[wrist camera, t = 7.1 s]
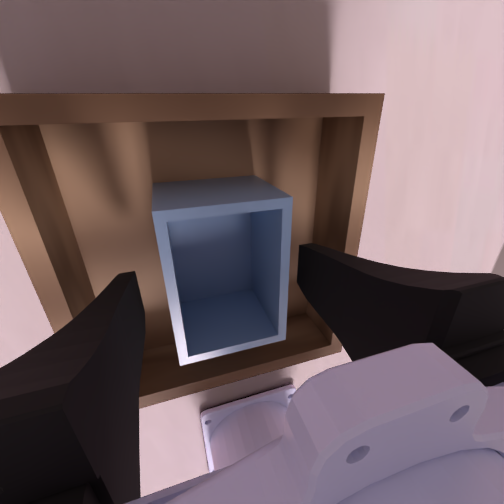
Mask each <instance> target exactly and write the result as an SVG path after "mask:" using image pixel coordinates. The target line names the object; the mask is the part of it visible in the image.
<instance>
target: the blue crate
mask: <svg viewBox="0 0 504 504" xmlns="http://www.w3.org/2000/svg"><path fill="white" fill-rule="evenodd" d="M292 206H293V197H292V196H290V195H289V194H287V193H285V192H283V191H282V190H280V189H278V188H276V187H275V186H273V185H271V184H270V183H268V182H266V181H264V180H263V179H261V178H259V177H257V176H256V175H251V176H238V177H225V178H212V179H199V180H186V181H174V182H161V183H153V185H152V216H153V222H154V227H155V233H156V238H157V243H158V249H159V254H160V260H161V265H162V271H163V276H164V282H165V287H166V292H167V298H168V303H169V309H170V314H171V320H172V325H173V330H174V336H175V341H176V347H177V352H178V358H179V363H180V366H182V365H186V364H190V363H194V362H198V361H202V360H206V359H210V358H214V357H218V356H222V355H226V354H230V353H234V352H238V351H242V350H246V349H250V348H254V347H258V346H262V345H266V344H270V343H274V342H278V341H282V340H286V323H287V304H288V284H289V265H290V245H291V225H292Z"/></svg>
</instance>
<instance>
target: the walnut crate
mask: <svg viewBox="0 0 504 504" xmlns="http://www.w3.org/2000/svg"><path fill="white" fill-rule="evenodd" d="M384 95H385V93H124V94H123V93H122V94H121V93H119V94H118V93H117V94H116V93H115V94H114V93H113V94H0V211H1V213H2V216H3V218H4V220H5V222H6V225H7V227H8V229H9V231H10V234H11V236H12V238H13V241H14V243H15V245H16V247H17V250H18V252H19V254H20V256H21V259H22V261H23V263H24V265H25V268H26V270H27V272H28V275H29V277H30V279H31V281H32V284H33V286H34V288H35V290H36V293H37V295H38V297H39V299H40V302H41V304H42V306H43V309H44V311H45V313H46V315H47V318H48V320H49V322H50V324H51V327H52V329H53V331H54V333H56V332H57V331H59V330H60V329H61V328H62V327H64V326H65V325H66V324H68V323H69V322H70V321H71V320H72V319H74V318H75V317H76V316H77V315H78V314H79V313H80V312H81V311H82V310H84V309H85V308H86V307H87V306H88V305H89V304H90V303H91V302H92V301H93V300H94V299H95V298H96V297H97V296H98V295H99V294H100V293H101V292H102V291H103V290H104V289H105V288H106V287H107V285H108V284H109V283H110V282H111V281H112V280H113V279H114V278H115V277H116V276H117V275H118V274H119V273H125V272H131V271H135V272H136V276H137V281H138V285H139V289H140V293H141V297H142V301H143V306H144V310H145V328H146V334H145V343H144V352H143V360H142V369H141V377H140V389H139V409H140V408H143V407H147V406H150V405H154V404H158V403H161V402H165V401H168V400H172V399H175V398H179V397H182V396H186V395H189V394H193V393H196V392H200V391H204V390H207V389H211V388H214V387H218V386H221V385H225V384H228V383H232V382H235V381H239V380H243V379H246V378H250V377H253V376H257V375H260V374H264V373H267V372H271V371H274V370H278V369H281V368H285V367H289V366H292V365H296V364H299V363H303V362H306V361H310V360H313V359H317V358H320V357H324V356H328V355H331V354H335V353H338V352H341V349H342V344H341V343H340V341H339V340H338V338H337V337H336V335H335V334H334V333H333V331H332V330H331V329H330V328H329V327H328V325H327V324H326V323H325V322H324V320H323V319H322V318H321V317H320V315H319V314H318V313H317V312H316V311H315V309H314V308H313V307H312V306H311V304H310V303H309V302H308V300H307V299H306V298H305V296H304V294H303V293H302V291H301V289H300V287H299V286H298V284H297V268H298V252H299V245H302V244H308V243H313V244H318V245H322V246H325V247H328V248H331V249H334V250H338V251H341V252H344V253H347V254H350V255H353V256H356V257H357V254H358V248H359V242H360V237H361V231H362V225H363V219H364V213H365V207H366V201H367V195H368V189H369V183H370V177H371V172H372V166H373V160H374V154H375V148H376V142H377V136H378V130H379V124H380V118H381V112H382V106H383V101H384ZM251 175H256V176H257V177H259V178H261V179H263V180H264V181H266V182H268V183H270V184H271V185H273V186H275V187H276V188H278V189H280V190H282V191H283V192H285V193H287V194H289V195H290V196H292V197H293V206H292V225H291V245H290V265H289V284H288V304H287V323H286V340H282V341H278V342H274V343H270V344H266V345H262V346H258V347H254V348H250V349H246V350H242V351H238V352H234V353H230V354H226V355H222V356H218V357H214V358H210V359H206V360H202V361H198V362H194V363H190V364H186V365H182V366H180V363H179V358H178V352H177V347H176V341H175V336H174V330H173V325H172V320H171V314H170V309H169V303H168V298H167V292H166V287H165V282H164V276H163V271H162V265H161V260H160V254H159V249H158V243H157V238H156V233H155V227H154V222H153V216H152V185H153V183H161V182H174V181H186V180H199V179H212V178H225V177H238V176H251Z"/></svg>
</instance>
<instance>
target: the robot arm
mask: <svg viewBox="0 0 504 504" xmlns="http://www.w3.org/2000/svg"><path fill="white" fill-rule="evenodd" d="M297 284H298V286H299V287H300V289H301V291H302V293H303V294H304V296H305V298H306V299H307V300H308V302H309V303H310V304H311V306H312V307H313V308H314V309H315V311H316V312H317V313H318V314H319V315H320V317H321V318H322V319H323V320H324V322H325V323H326V324H327V325H328V327H329V328H330V329H331V330H332V331H333V333H334V334H335V335H336V337H337V338H338V340H339V341H340V343H341V344H342V346H343V347H344V349H345V350H346V352H347V353H348V355H349V357H350V358H351V360H352V362H349V363H346V364H343V365H339V366H336V367H332V368H329V369H327V370H325V371H323V372H321V373H319V374H317V375H315V376H313V377H311V378H309V379H308V380H307V381H306V382H305V383H304V384H303V385H301V386H300V387H299V388H298V389H297V390H296V388H295V387H294V385H287V386H283V387H280V388H277V389H273V390H270V391H267V392H263V393H260V394H257V395H253V396H250V397H247V398H244V399H240V400H237V401H234V402H230V403H227V404H224V405H220V406H217V407H214V408H210V409H207V410H204V411H203V412H202V413H201V414H200V418H201V424H202V430H203V436H204V442H205V449H206V455H207V461H208V467H209V473H208V474H205V475H202V476H199V477H196V478H194V479H191V480H188V481H185V482H183V483H180V484H177V485H174V486H172V487H169V488H166V489H163V490H161V491H158V492H155V493H152V494H150V495H147V496H144V497H140V460H139V389H140V377H141V369H142V360H143V352H144V343H145V334H146V328H145V310H144V306H143V301H142V297H141V293H140V289H139V285H138V281H137V276H136V272H135V271H131V272H125V273H119V274H118V275H117V276H116V277H115V278H114V279H113V280H112V281H111V282H110V283H109V284H108V285H107V287H106V288H105V289H104V290H103V291H102V292H101V293H100V294H99V295H98V296H97V297H96V298H95V299H94V300H93V301H92V302H91V303H90V304H89V305H88V306H87V307H86V308H85V309H84V310H82V311H81V312H80V313H79V314H78V315H77V316H76V317H75V318H74V319H72V320H71V321H70V322H69V323H68V324H66V325H65V326H64V327H62V328H61V329H60V330H59V331H57V332H56V333H55V334H53V335H52V336H50V337H49V338H48V339H46V340H45V341H43V342H42V343H40V344H39V345H37V346H36V347H34V348H32V349H31V350H29V351H28V352H26V353H25V354H23V355H22V356H20V357H18V358H17V359H15V360H13V361H12V362H10V363H8V364H7V365H5V366H3V367H1V368H0V504H504V277H501V276H499V275H496V274H492V273H451V272H436V271H425V270H418V269H410V268H403V267H398V266H393V265H388V264H383V263H378V262H374V261H371V260H367V259H363V258H360V257H356V256H353V255H350V254H347V253H344V252H341V251H338V250H334V249H331V248H328V247H325V246H322V245H318V244H313V243H308V244H302V245H299V252H298V268H297Z"/></svg>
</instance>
